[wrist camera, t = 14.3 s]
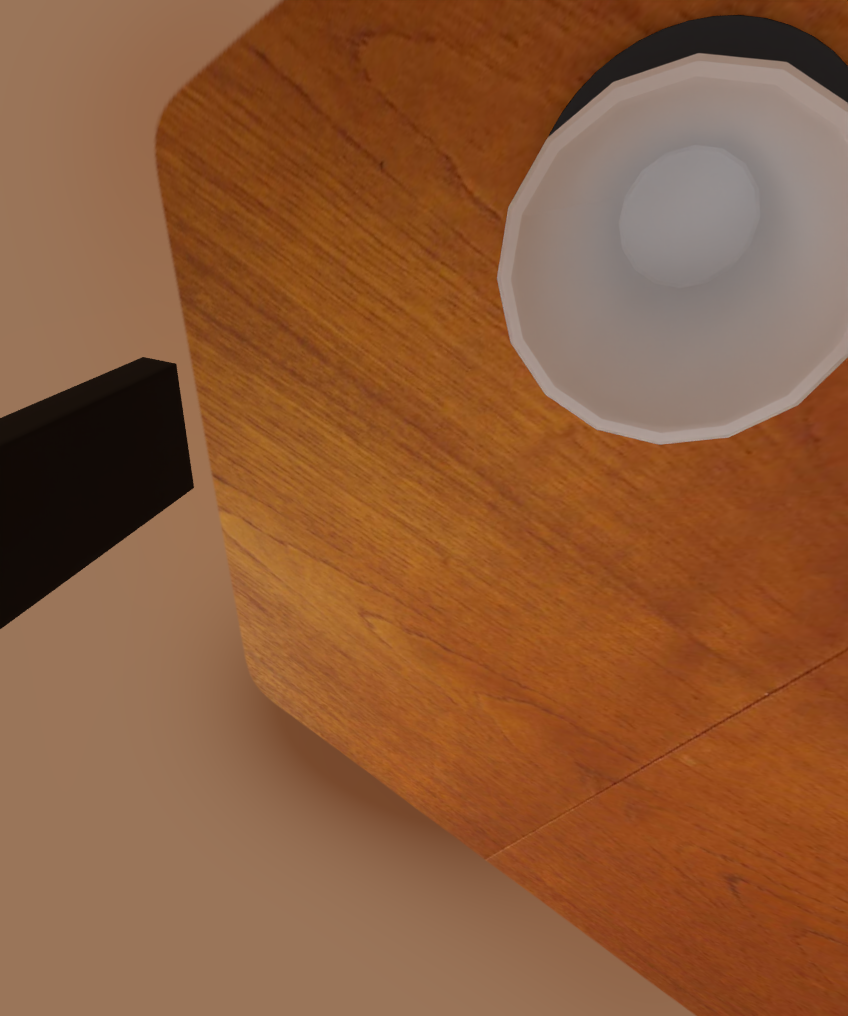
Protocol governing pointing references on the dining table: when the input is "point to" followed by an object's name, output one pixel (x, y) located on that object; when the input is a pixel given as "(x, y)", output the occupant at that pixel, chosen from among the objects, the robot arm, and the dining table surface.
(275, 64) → the dining table surface
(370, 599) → the dining table surface
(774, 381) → the cup
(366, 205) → the dining table surface
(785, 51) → the mat
